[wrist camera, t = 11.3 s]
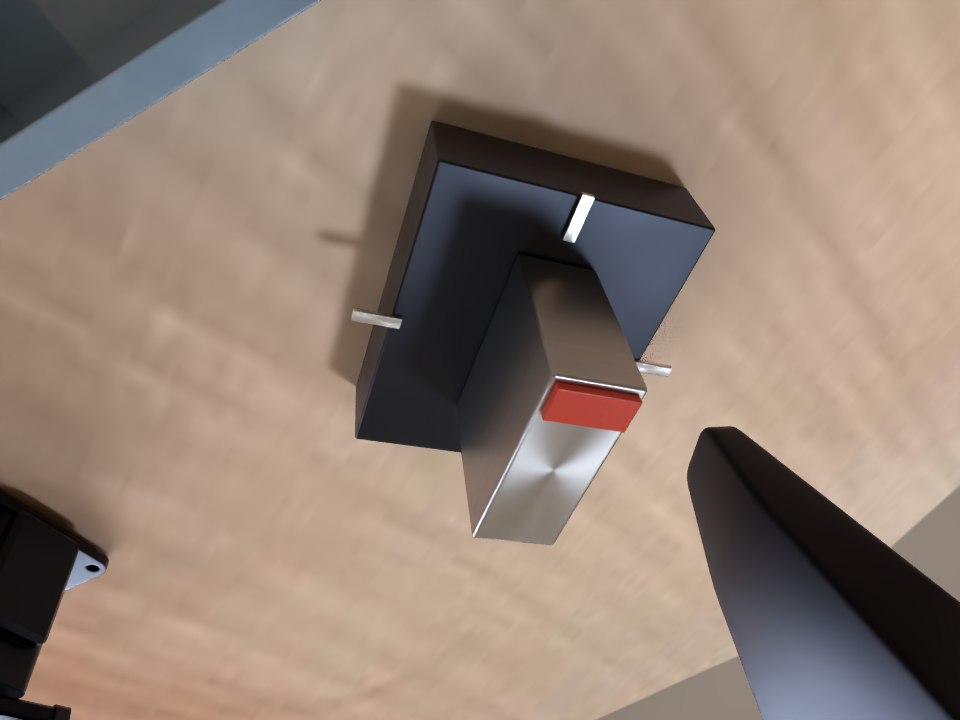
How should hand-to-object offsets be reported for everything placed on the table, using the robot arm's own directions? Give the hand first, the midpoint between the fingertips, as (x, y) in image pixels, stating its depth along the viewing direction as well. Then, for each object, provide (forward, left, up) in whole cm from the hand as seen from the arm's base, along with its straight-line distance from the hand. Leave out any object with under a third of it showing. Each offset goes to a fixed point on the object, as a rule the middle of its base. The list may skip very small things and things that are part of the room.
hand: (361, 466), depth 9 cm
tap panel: (+1, -8, -13) cm, 15 cm away
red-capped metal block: (+1, -8, -10) cm, 13 cm away
